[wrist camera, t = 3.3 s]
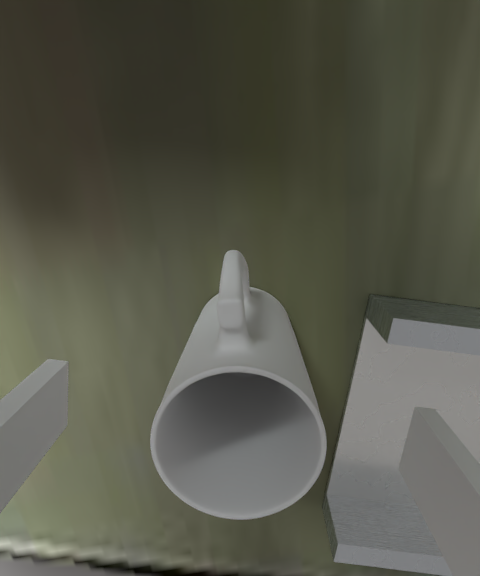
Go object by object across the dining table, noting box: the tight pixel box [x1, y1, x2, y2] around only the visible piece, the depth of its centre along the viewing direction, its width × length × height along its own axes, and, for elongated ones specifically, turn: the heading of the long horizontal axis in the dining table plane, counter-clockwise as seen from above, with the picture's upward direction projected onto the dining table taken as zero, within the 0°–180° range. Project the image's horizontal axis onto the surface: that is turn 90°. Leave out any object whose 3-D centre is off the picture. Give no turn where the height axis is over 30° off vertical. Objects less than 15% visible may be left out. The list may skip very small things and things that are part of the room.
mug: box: [150, 250, 327, 520], centre depth 21 cm, size 10×7×12 cm, turn 3°
